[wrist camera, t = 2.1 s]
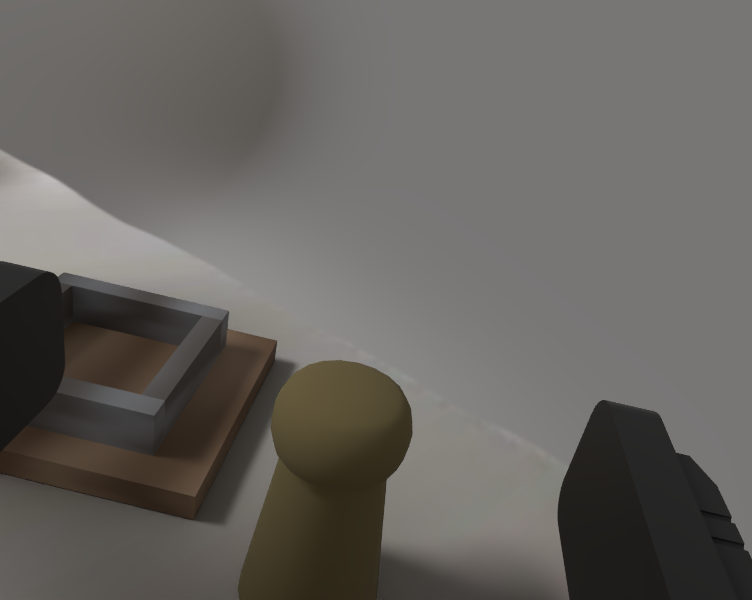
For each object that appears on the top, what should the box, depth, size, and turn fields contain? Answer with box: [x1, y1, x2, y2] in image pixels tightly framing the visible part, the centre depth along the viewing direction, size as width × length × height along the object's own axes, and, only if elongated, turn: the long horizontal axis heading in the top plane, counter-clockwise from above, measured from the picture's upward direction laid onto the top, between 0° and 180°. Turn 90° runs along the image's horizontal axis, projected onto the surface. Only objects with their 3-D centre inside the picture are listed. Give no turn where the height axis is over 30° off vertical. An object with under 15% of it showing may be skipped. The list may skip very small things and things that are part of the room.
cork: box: [238, 360, 412, 600], centre depth 26 cm, size 6×6×11 cm
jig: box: [0, 273, 277, 520], centre depth 36 cm, size 16×14×4 cm
